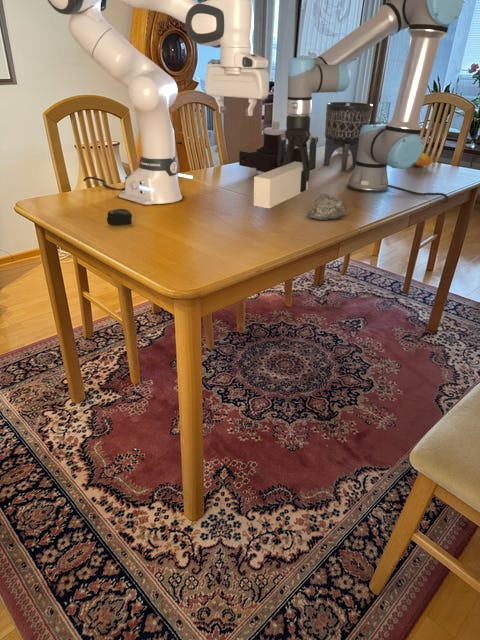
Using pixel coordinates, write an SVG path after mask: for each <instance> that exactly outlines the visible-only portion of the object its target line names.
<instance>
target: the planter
mask: <svg viewBox="0 0 480 640" xmlns="http://www.w3.org/2000/svg"><path fill="white" fill-rule="evenodd" d="M373 107H374V106H373V104H372V103H367V102H353V101H333V102H327V103H326V109H325V124H324V125H325V126H324V139H325V144H324V156H323V157H324V158H323V165H325V166H328V165H330V163H331V158H332V156H333V154H334V153H335V152H336V149H338V148H340V147H342V153H341V166H340V170H341V172H345V171H347V167H348V166H347V165H348V159H349V154H348V152H349V150H350V151H351V152H350V154H351V157H352V158H351V159H352V160H351V161H352V166H353V167H355V165H356V158H357V151H358V144H359V135H360V131H361V128H362V126H364V125H370V121H371V116H372V112H373Z"/></svg>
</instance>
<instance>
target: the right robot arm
mask: <svg viewBox="0 0 480 640" xmlns="http://www.w3.org/2000/svg"><path fill="white" fill-rule="evenodd" d="M463 6H464V0H388V1H386V2H385V3H384V4H382V5H381V6H379V8H378V11H377V13H376V14H374V15H373V16H372V17H370V18H369V19H367V20H366V21H365V22H363V23H362V24H361V25H359V26H358V27H357V28H355V29H353V31H351V32H350V33H348V34H347V35H345V36H344V37H342V39H340V40H339V41H337V42H336V43H334V44H333V45H332V46H330V47H329V48H327V49H326V50H325V51H324V52H322V53H321V54H320V55H318V56H317V57H292V58H290V59H289V64H288V73H287V100H286V114H288V115H287V116H286V121H285V122H286V123H285V129H287V130H286V132H285V134H280V135H278V136H277V137H278V142H279V145H278V159H277V166H280V167H281V166H284V165H287V164H289V163H290V159H291V156H292V153H293V149H294V148H295V146H297V147H299V150H300V153H301V158H302V164H303V169H304V170H303V171H302V172H301V187H300V192H302V193H304V192H305V191H307V190H306V182H307V181H308V182H309V181H310V172H312V171H313V170H315V169H316V165H317V145H318V142H319V137H318V136H313V135H311V132H310V131H311V130H310V129H311V121H312V120H311V119H312V116H311V115H310V114H311V113H312V105H313V104H312V102H313V94H317V93H322V94H323V93H335V94H337V93H340V92H341V93H342V92H344V91H346V90H347V89H348V88H349V86H350V83H351V76H352V75H351V70H350V68H349V66H348V65H350V63H353V61H355V60H356V59H358V58H359V57H360V56H362V55H363V54H365V53H366V52H367V51H369V50H370V49H371V48H373V47H374V46H376V45H377V44H379V43H380V42H381V41H383V40H384V39H385V38H387V37H388V36H389V37H393V36H395V35H396V34H398V33H399V32H401V31H403V30H406V29H408V34H409V36H410V43H409V47H408V52H407V55H406V60H405V63H404V68H403V73H402V76H401V81H400V85H399V88H398V93H397V97H396V101H395V106H394V110H393V115H392V117H391V120H390V121H388V122H387V123H386V124H369V125H364V126H362V128H361V131H360V135H359V144H358V151H357V158H356V165H355V166H354V167H353V171H351V174H350V176H349V179H348V180H347V181H348V182H347V187H348V188H349V189H351V190H354V191H358V192H363V193H364V192H365V193H382V192H386V191H388V189H389V188H391V189H393V190H398V191H401V192H405V193H408V194H412V195H416V196H441V197H444V198H445V199H446V200H450V197H449V196H448V194H446V193H444V192H417V191H415V190H414V191H413V190H410V189H406V188H402V187H399V186H396V185H391V184H389V178H388V173H387V172H388V171H387V166H388V167H390V168H391V169H398V170H405V169H408V168H411V167H413V165H415V164H414V163H416V161H417V160H418V159H419V157H420V156H421V154H422V153H423V150H424V143H423V139H422V138H421V137H420V133H421V130H422V128H421V126H420V125H419V119H420V116H421V113H422V108H423V104H424V101H425V97H426V94H427V89H428V85H429V82H430V78H431V75H432V71H433V67H434V64H435V60H436V56H437V54H438V53H437V52H438V48H439V45H440V41H441V40H442V39H443V38H445V36H447V35H448V31H449V27H450V25H452V24H454V23H455V22H456V20H457V19H458V18H459V17H460V15H461V13H462V10H463ZM286 138H287V139H286ZM285 140H286V141H287V144H288V145H287V150H286V154H285ZM308 143H309V147H308ZM308 148H309V150H308ZM307 151H308V152H309V158H308V153H307ZM284 154H285V157H284Z"/></svg>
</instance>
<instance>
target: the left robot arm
mask: <svg viewBox="0 0 480 640" xmlns="http://www.w3.org/2000/svg"><path fill="white" fill-rule="evenodd" d="M117 1H118V2H121V3H123V4H124V5H128V6H130V7H133V8H136V9H140V10H146V11H152V12H158V13H162V14H165V15H168V16H170V17H172V18H174V19H176V20H178V21H179V22H181V23H183V24H184V26H185V31H186V33H187V36H188V37H189V39H190V40H191V41H193V42H194V43H195V44H197V45H200V46H206V47H212V48H216V49H219V48H220V49H219V50H220V52H219V53H220V54H219V56H220V58H219V59H213V58H212V59H210V60H209V61H208V62H207V64H206V66H205V67H206V70H205V81H204V92H205V94H206V95H207V96H214V97H215V99H214V100H215V103H216V105H217V107H218V113H219V114H226V113H227V106H225V105H224V102H223V100H224V97H227V98H228V97H230V98H240V99H242V98H243V99H248V103H249V105H248V107H247V108H245V109H244V110H245V111H244V112H245V113H244V114H245V116H246V117H252V116H253V115H254V109H255V107H256V105H257V103H258V100H265V99H267V98H268V96H269V94H270V76H269V75H270V74H269V71H268V70H267V68H268V66H269V60H268V59H267V58H264V57H262V56H260V55H258V54H256V53H254V52H253V42H252V35H253V31H254V6H253V0H205V1H202V2H198V1H196V0H117ZM47 2H48V3H49V5H50V6H51V7H52V9H54V11H56V12H57V13H59V14H62V15H70V16H71V17H70V18H69V21H68V29H69V34H70V35H71V37H72V38H73V39H74V41H75V42H76V43H77V44H78V46H80V48H81V49H82V51H84V52H85V53H86V54H87V55H88V56H89V57H90V58H91V59H92V60H93V61H94V62H95V63H96V64H97V65H98V66H99V67H101V69H102V70H104V71H105V72H106V73H107V74H108V75H109V76H110V77H111V78H112V79H113V80H115V81H117V82H119V83H121V84H122V85H124V86H125V87H127V88H128V89H127V94H128V99H129V101H130V103H131V105H132V106H133V111H134V113H135V118H136V122H137V126H138V129H139V135H140V137H139V138H140V147H141V156H140V157H136V161H135V162H136V163H138V168H136V169H135V170H134V171H133V172H131V174H129V175H128V176H124V187H122V188H116V187H113V186H110V185H107V184H106V180H104V179H101V178H98V177H95V176H87V177H84V179H83V180H82V181H83V182H86V181H87V180H96V181H99V182H102V186H103V187H105V188H106V189H109V190H115V191H116V190H117V191H121V192H119V194H118V197H119V198H121V199H124V200H128V201H131V202H133V203H134V202H135V203H138V204H141V205H144V206H146V205H148V206H149V205H161V204H164V205H165V204H171V203H172V204H173V203H177V202H179V201H181V200H183V195H182V192H181V188H180V183H179V179H178V177H181V178H186V179H193V178H194V177H193V176H194V175H190V174H184V173H178V156H177V155H176V139H175V138H176V137H175V130H174V127H173V124H172V121H171V114H170V109H169V108H170V107H171V106H172V105H173V104H174V103H175V102H176V100H177V97H178V92H179V89H178V84H177V82H176V80H175V79H174V78H173V77H172V76H171V75H170V74H168V73H167V72H165V70H164V69H162V68H161V67H160V65H157V64H156V63H155V62H154V61H152V59H150V58H149V57H147V56H146V55H145V54H143V53H142V52H141V51H140V50H138V49H137V48H136V47H135V46H134V45H132V43H130V41H129V40H127V39H126V38H125V37H124V36H123V35H122V34H121V33H120V32H119V31H118V30H117V29H116V28H115V27H113V25H111V24H110V23H109V22H108V21H107V19H105V17H104V16H103V14H102V12H104V11H105V10H106V9H107V4H108V0H47Z"/></svg>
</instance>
